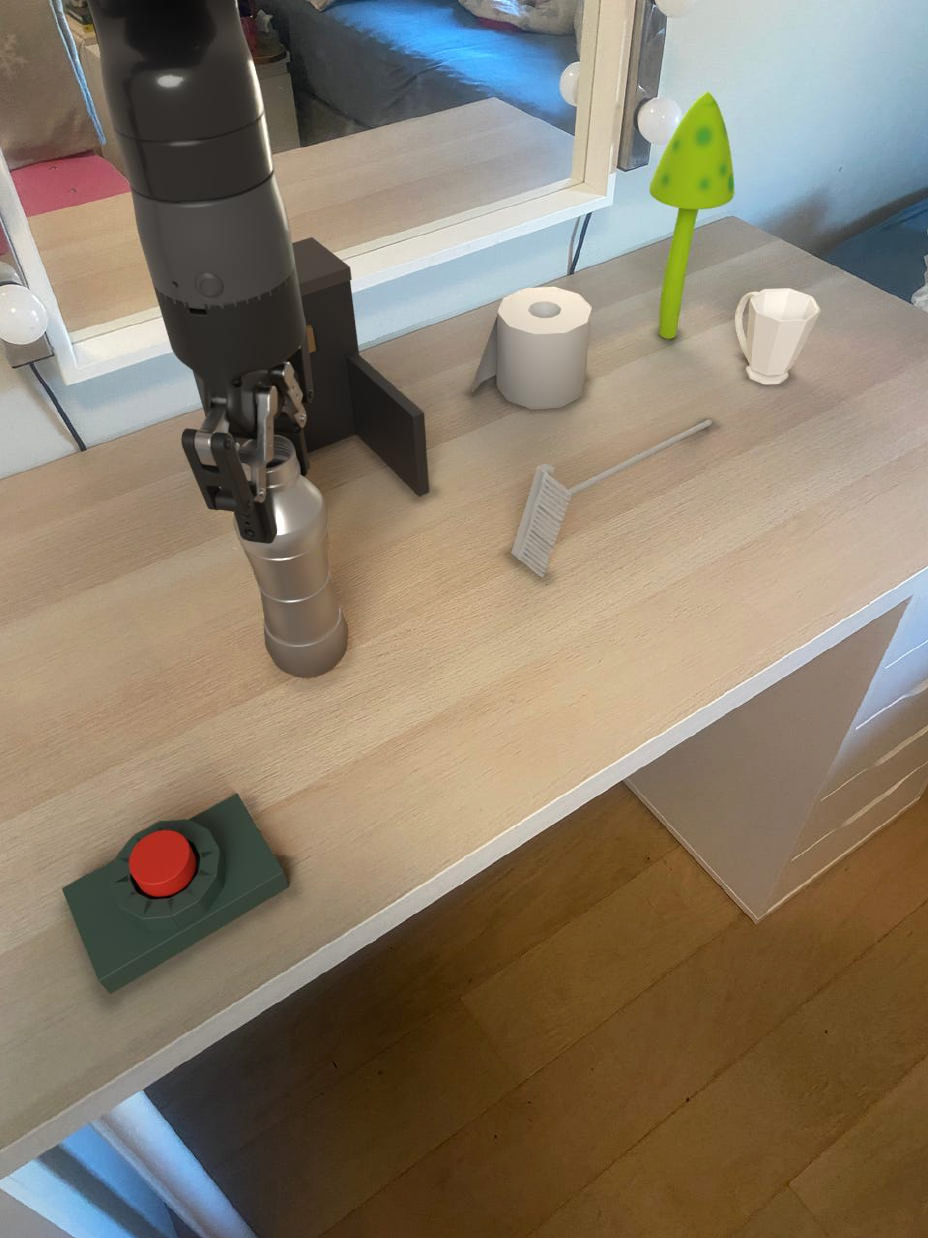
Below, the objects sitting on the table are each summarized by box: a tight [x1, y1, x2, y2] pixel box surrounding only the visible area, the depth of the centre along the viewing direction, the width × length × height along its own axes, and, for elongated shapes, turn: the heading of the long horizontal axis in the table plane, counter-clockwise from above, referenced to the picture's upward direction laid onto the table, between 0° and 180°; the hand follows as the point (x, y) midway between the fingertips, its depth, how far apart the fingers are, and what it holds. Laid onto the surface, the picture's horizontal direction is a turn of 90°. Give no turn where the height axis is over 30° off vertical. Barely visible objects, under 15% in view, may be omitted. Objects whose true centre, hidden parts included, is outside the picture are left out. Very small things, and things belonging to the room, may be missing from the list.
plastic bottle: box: [232, 435, 349, 679], centre depth 64 cm, size 6×7×20 cm
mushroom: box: [648, 91, 735, 339], centre depth 93 cm, size 8×8×25 cm
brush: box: [510, 418, 713, 578], centre depth 82 cm, size 4×28×9 cm, turn 133°
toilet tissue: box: [470, 286, 593, 410], centre depth 92 cm, size 9×13×9 cm
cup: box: [734, 287, 822, 386], centre depth 94 cm, size 7×10×8 cm
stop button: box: [129, 830, 196, 897], centre depth 54 cm, size 4×4×2 cm
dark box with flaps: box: [192, 236, 430, 497], centre depth 81 cm, size 19×14×17 cm
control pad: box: [61, 792, 290, 995], centre depth 56 cm, size 12×7×4 cm, turn 124°
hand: (277, 504), depth 59 cm, fingers closed on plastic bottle, 6 cm apart
